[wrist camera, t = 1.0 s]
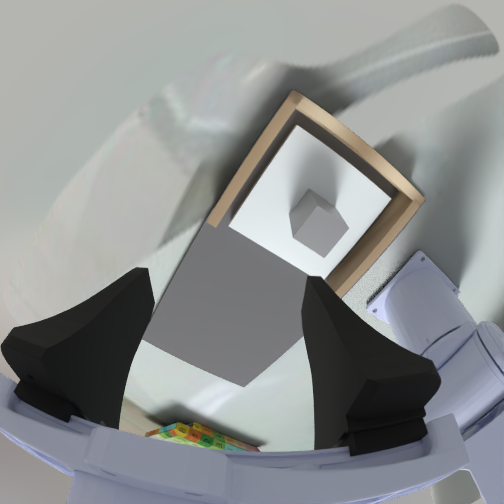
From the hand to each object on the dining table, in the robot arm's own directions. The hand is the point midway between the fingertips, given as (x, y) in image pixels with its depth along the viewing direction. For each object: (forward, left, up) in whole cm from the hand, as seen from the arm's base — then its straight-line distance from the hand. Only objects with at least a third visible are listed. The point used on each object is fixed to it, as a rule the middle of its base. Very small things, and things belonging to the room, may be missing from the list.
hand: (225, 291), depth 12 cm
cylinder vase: (-75, +22, -11) cm, 79 cm away
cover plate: (-4, -3, -11) cm, 12 cm away
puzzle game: (-17, +42, -11) cm, 46 cm away
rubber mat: (-5, +5, -11) cm, 13 cm away
